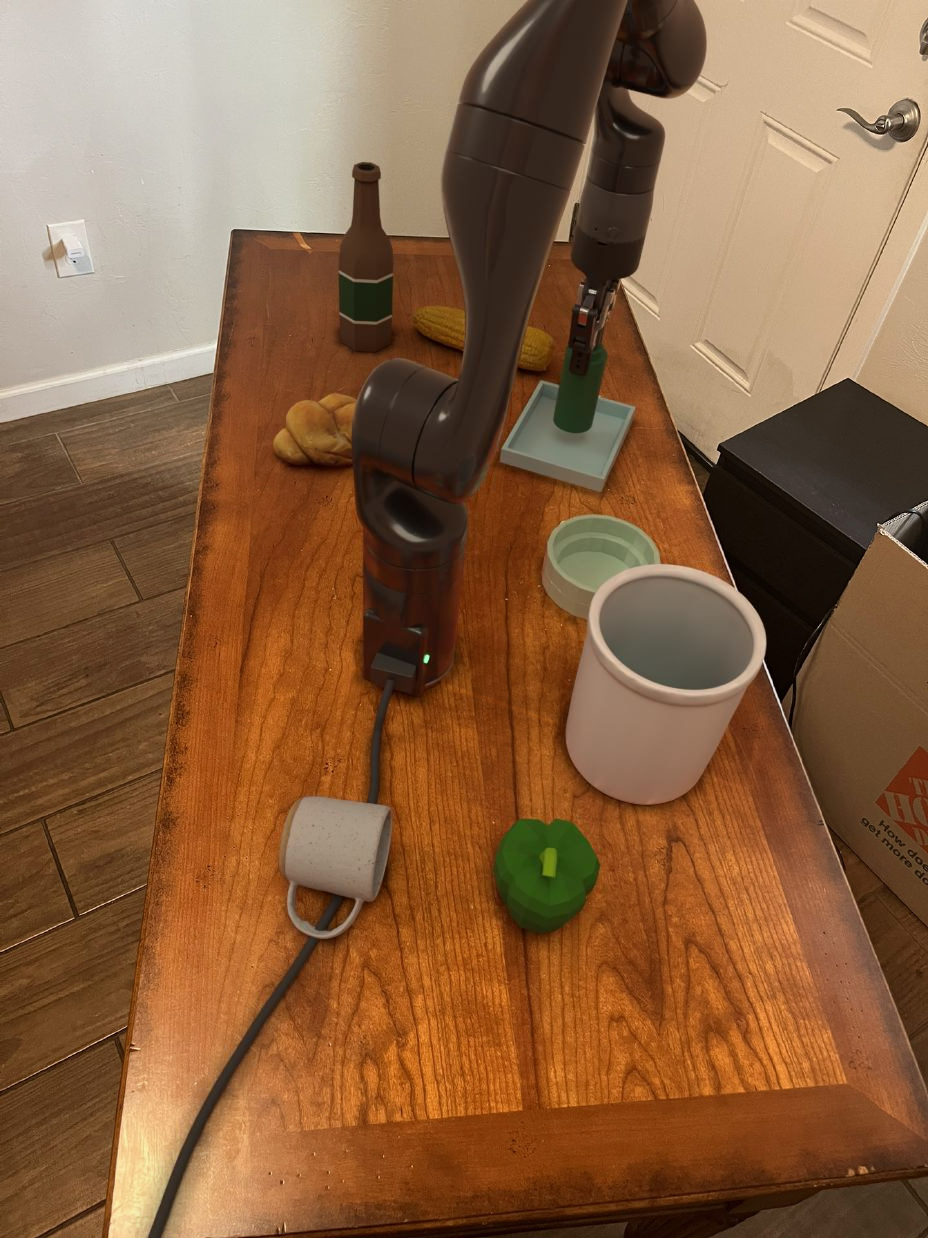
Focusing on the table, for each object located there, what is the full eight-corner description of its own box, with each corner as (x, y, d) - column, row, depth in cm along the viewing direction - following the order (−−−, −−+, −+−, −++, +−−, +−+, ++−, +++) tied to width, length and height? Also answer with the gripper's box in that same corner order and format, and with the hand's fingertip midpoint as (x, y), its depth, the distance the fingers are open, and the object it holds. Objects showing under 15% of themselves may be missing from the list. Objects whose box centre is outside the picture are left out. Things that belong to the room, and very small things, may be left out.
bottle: (586, 437, 117) (607, 342, 107) (548, 426, 118) (565, 330, 107) (596, 415, 120) (618, 320, 110) (559, 405, 121) (577, 309, 111)
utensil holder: (533, 702, 93) (560, 580, 80) (663, 667, 98) (710, 546, 84) (597, 829, 85) (640, 716, 71) (738, 785, 89) (803, 670, 76)
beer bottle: (330, 328, 134) (325, 156, 117) (381, 319, 137) (384, 149, 119) (349, 358, 130) (347, 183, 112) (401, 348, 133) (407, 176, 115)
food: (554, 363, 133) (561, 326, 129) (542, 384, 130) (548, 346, 125) (418, 323, 137) (420, 285, 133) (402, 342, 134) (404, 304, 129)
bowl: (635, 640, 100) (645, 608, 96) (526, 604, 102) (532, 572, 98) (660, 565, 108) (670, 534, 104) (558, 534, 110) (565, 502, 106)
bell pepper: (516, 837, 83) (531, 777, 76) (599, 885, 81) (623, 828, 73) (467, 913, 78) (478, 857, 71) (555, 967, 76) (575, 914, 68)
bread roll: (277, 480, 112) (272, 426, 106) (269, 430, 118) (264, 376, 112) (384, 471, 115) (385, 417, 109) (370, 422, 121) (371, 368, 115)
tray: (600, 495, 115) (604, 479, 113) (499, 465, 117) (501, 448, 115) (631, 422, 125) (635, 406, 123) (538, 395, 128) (540, 379, 126)
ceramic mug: (302, 818, 83) (296, 773, 77) (393, 835, 82) (395, 790, 77) (267, 934, 76) (258, 894, 70) (366, 953, 76) (366, 914, 70)
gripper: (596, 187, 105) (571, 323, 117) (559, 242, 95) (536, 384, 108) (661, 203, 103) (629, 339, 116) (630, 260, 94) (598, 401, 107)
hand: (584, 360), depth 112 cm, fingers closed on bottle, 5 cm apart
